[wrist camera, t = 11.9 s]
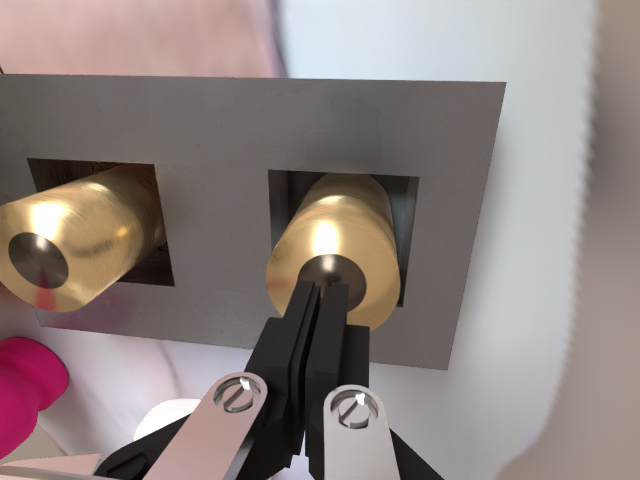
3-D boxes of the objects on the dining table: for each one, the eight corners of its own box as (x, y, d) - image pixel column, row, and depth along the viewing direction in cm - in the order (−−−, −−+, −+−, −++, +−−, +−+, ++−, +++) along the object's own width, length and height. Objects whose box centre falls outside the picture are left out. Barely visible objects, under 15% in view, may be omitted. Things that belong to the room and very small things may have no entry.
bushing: (303, 167, 20) (262, 218, 13) (395, 171, 19) (408, 227, 12) (303, 249, 22) (268, 333, 15) (386, 255, 21) (393, 345, 14)
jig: (24, 74, 20) (-176, 71, 13) (478, 81, 17) (555, 83, 10) (87, 291, 26) (-27, 375, 18) (435, 324, 23) (464, 438, 16)
